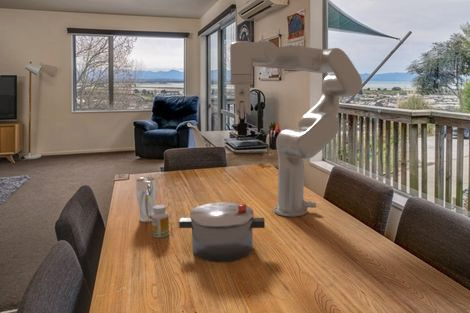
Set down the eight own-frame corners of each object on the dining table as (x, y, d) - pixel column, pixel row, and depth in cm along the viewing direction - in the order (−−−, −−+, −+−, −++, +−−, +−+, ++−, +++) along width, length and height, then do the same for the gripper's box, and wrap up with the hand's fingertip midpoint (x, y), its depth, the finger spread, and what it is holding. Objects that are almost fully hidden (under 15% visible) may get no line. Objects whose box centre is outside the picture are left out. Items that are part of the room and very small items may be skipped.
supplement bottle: (170, 231, 125) (168, 203, 123) (167, 237, 120) (166, 209, 118) (154, 231, 125) (152, 204, 123) (151, 238, 120) (149, 209, 118)
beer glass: (138, 223, 132) (135, 182, 129) (137, 217, 139) (135, 178, 136) (158, 221, 134) (155, 181, 131) (156, 214, 141) (154, 176, 138)
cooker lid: (252, 205, 119) (252, 196, 118) (254, 227, 100) (253, 216, 100) (194, 206, 119) (194, 196, 119) (185, 227, 101) (185, 216, 101)
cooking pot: (262, 235, 120) (263, 206, 118) (265, 262, 103) (265, 228, 101) (186, 235, 121) (184, 206, 119) (175, 262, 104) (174, 228, 102)
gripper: (253, 80, 116) (253, 138, 120) (252, 80, 131) (253, 132, 134) (229, 80, 116) (230, 138, 120) (231, 80, 131) (232, 132, 135)
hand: (242, 135), depth 127 cm, fingers closed
